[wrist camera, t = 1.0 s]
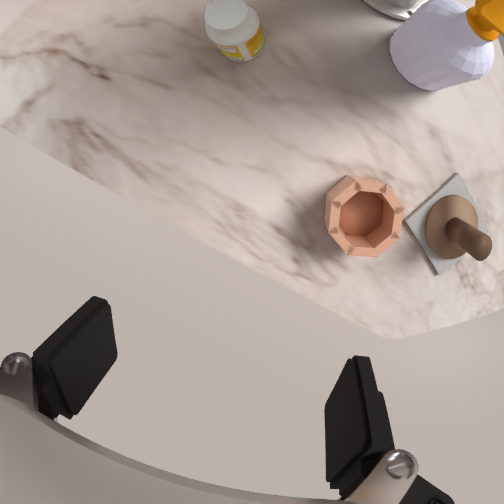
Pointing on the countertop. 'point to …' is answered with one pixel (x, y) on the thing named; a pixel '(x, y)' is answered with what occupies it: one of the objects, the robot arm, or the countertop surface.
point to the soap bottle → (447, 42)
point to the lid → (456, 229)
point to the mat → (420, 214)
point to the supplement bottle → (234, 29)
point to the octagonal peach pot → (363, 216)
